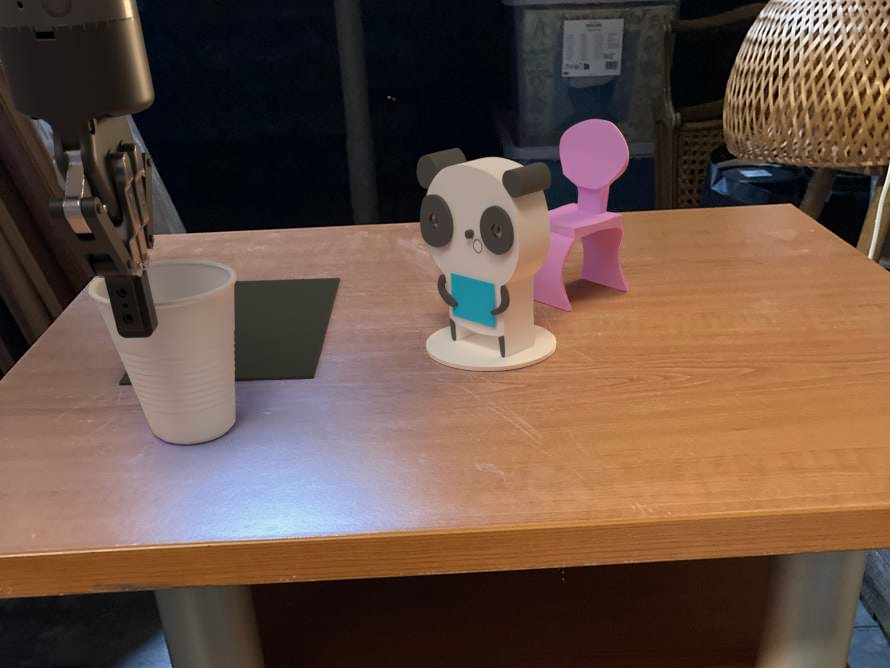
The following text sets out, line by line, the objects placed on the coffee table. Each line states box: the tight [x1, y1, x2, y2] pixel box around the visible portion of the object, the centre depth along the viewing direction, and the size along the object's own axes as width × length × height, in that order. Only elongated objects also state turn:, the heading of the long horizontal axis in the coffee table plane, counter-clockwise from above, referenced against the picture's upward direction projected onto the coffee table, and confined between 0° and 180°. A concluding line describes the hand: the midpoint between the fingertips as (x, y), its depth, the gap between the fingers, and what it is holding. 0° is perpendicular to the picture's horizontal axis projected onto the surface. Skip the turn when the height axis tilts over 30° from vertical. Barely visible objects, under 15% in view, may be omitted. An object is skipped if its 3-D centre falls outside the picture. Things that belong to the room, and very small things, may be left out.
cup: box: [87, 258, 238, 445], centre depth 71 cm, size 10×10×11 cm
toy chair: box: [534, 118, 630, 312], centre depth 93 cm, size 8×9×15 cm
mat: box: [118, 277, 341, 386], centre depth 92 cm, size 26×16×1 cm, turn 2°
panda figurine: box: [416, 147, 557, 372], centre depth 82 cm, size 12×11×15 cm
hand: (139, 333), depth 63 cm, fingers closed
